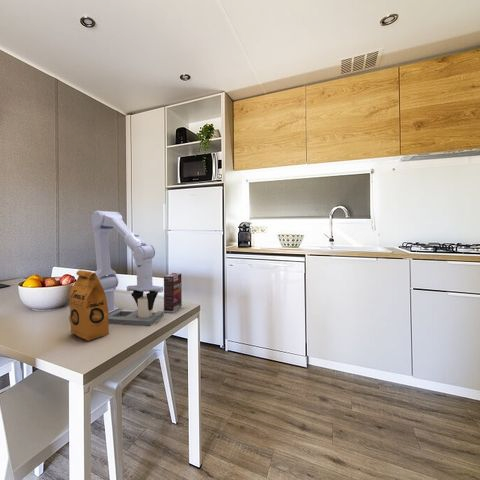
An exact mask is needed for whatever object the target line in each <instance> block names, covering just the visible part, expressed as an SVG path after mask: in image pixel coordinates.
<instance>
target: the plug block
mask: <svg viewBox="0 0 480 480" xmlns="http://www.w3.org/2000/svg"><path fill="white" fill-rule="evenodd" d="M153 309H154V308H153ZM153 309H152V310H149V309H148V299H147V295H143V296H142V297H140V298H138V307H137V310H138V318H150V317H151V316H152V315H153V311H154V310H153Z"/></svg>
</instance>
